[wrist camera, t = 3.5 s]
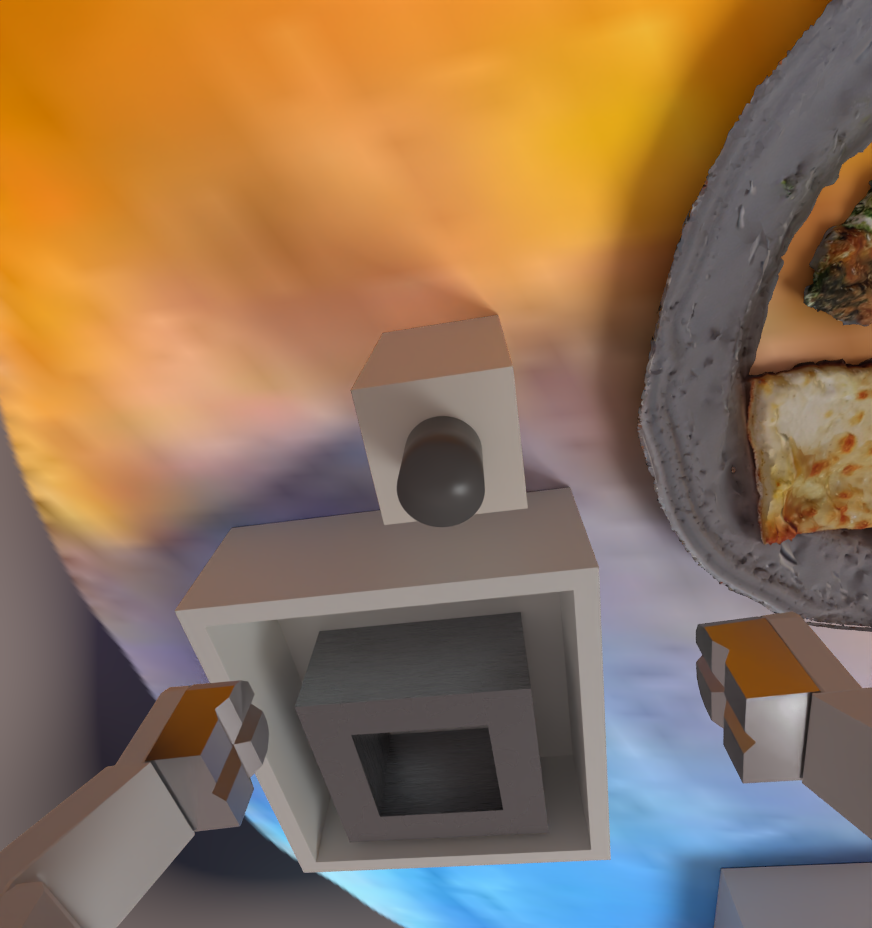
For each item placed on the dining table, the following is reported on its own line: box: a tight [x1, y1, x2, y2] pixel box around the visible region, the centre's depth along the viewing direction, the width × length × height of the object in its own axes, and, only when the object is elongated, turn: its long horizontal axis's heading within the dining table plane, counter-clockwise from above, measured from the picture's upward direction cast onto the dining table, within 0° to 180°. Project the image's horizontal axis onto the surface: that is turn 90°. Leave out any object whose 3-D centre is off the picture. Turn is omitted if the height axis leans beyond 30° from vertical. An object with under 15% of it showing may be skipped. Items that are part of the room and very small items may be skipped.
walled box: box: [175, 487, 611, 873], centre depth 23 cm, size 16×14×5 cm
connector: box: [351, 315, 528, 527], centre depth 16 cm, size 4×4×8 cm
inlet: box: [295, 612, 549, 842], centre depth 24 cm, size 9×9×4 cm
